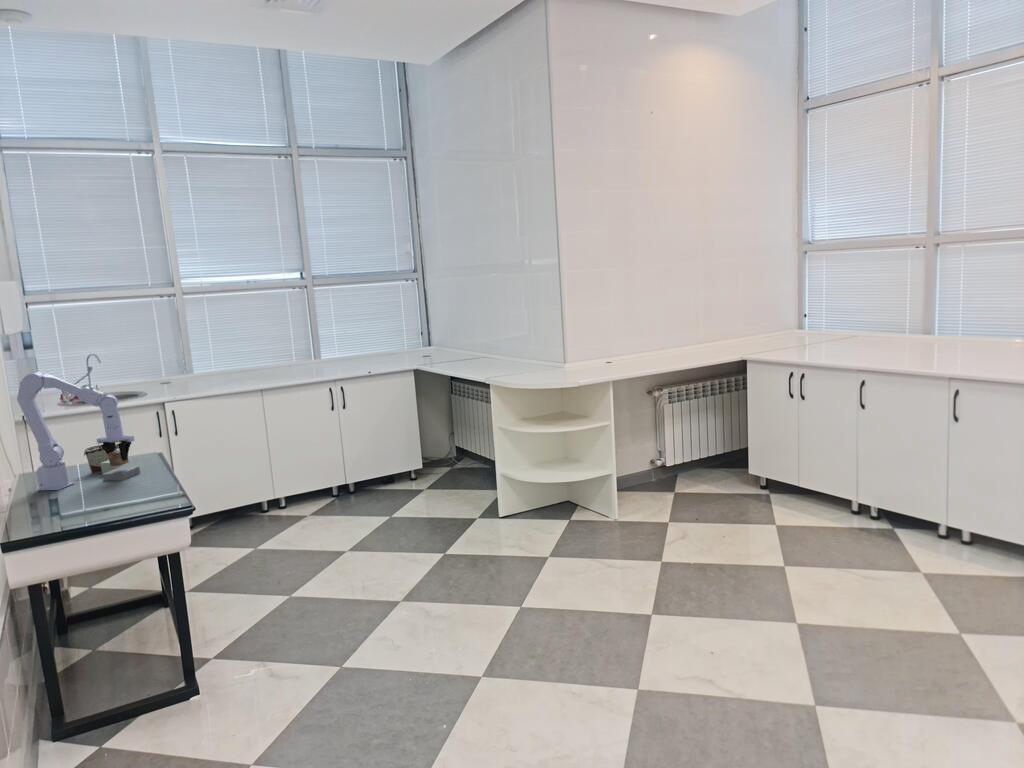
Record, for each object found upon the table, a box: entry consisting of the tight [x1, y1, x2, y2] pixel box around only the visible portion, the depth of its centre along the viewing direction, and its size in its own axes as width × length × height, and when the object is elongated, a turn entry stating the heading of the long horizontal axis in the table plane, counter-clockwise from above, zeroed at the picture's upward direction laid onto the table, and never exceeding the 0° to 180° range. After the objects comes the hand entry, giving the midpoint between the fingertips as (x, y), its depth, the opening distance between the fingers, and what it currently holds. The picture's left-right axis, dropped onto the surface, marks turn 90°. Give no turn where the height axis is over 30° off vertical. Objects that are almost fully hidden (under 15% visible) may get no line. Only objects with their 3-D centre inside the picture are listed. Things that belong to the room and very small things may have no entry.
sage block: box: [100, 460, 121, 476], centre depth 285 cm, size 4×4×5 cm
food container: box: [83, 443, 119, 475], centre depth 291 cm, size 12×6×10 cm, turn 130°
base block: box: [102, 466, 141, 481], centre depth 279 cm, size 9×9×3 cm
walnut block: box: [108, 449, 129, 467], centre depth 278 cm, size 4×4×5 cm
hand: (119, 460), depth 278 cm, fingers closed on walnut block, 4 cm apart
